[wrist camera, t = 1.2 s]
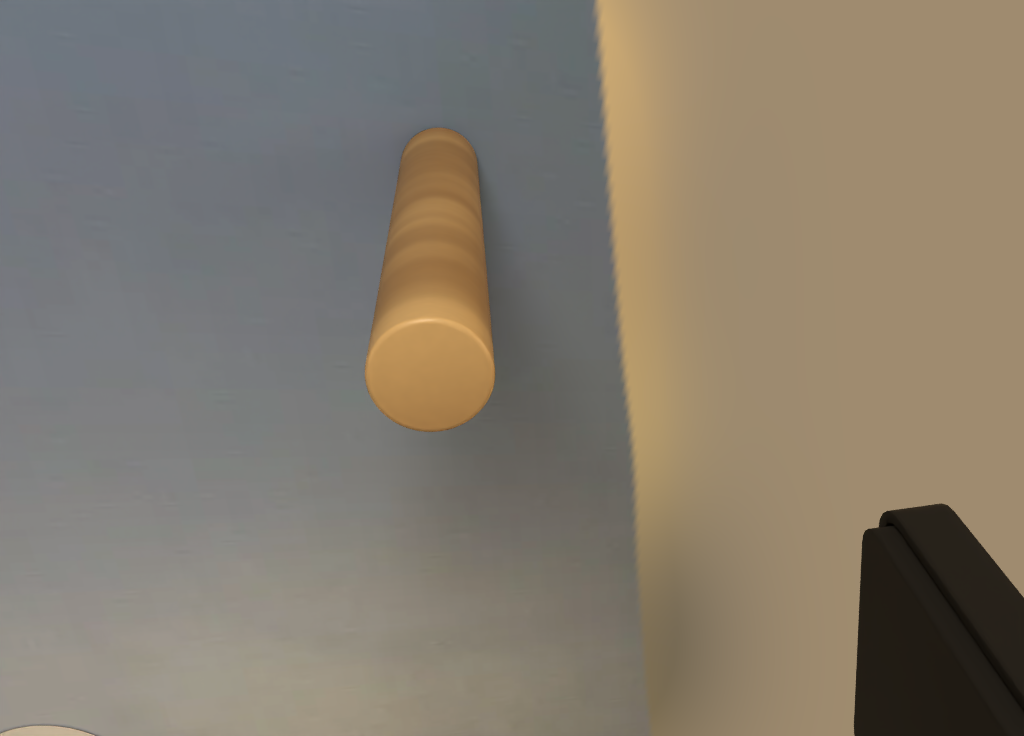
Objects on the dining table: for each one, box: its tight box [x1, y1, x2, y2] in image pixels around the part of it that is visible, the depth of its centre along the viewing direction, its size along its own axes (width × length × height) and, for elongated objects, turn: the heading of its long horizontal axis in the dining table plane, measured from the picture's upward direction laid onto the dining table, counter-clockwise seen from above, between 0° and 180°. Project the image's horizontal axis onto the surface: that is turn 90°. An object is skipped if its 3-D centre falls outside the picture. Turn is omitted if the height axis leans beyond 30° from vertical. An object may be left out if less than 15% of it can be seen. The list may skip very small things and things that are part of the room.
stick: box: [365, 128, 495, 432], centre depth 20 cm, size 2×2×12 cm
